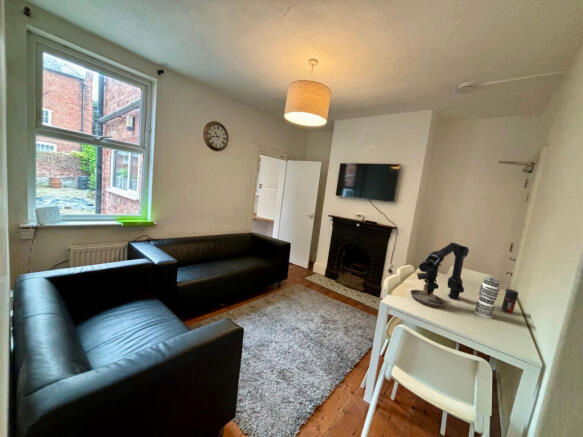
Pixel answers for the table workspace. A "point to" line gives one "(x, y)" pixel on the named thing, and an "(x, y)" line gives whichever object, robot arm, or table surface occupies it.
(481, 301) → the decorative candle
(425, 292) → the walnut block
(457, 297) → the robot arm
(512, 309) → the deodorant
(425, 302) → the plant saucer
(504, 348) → the table surface
